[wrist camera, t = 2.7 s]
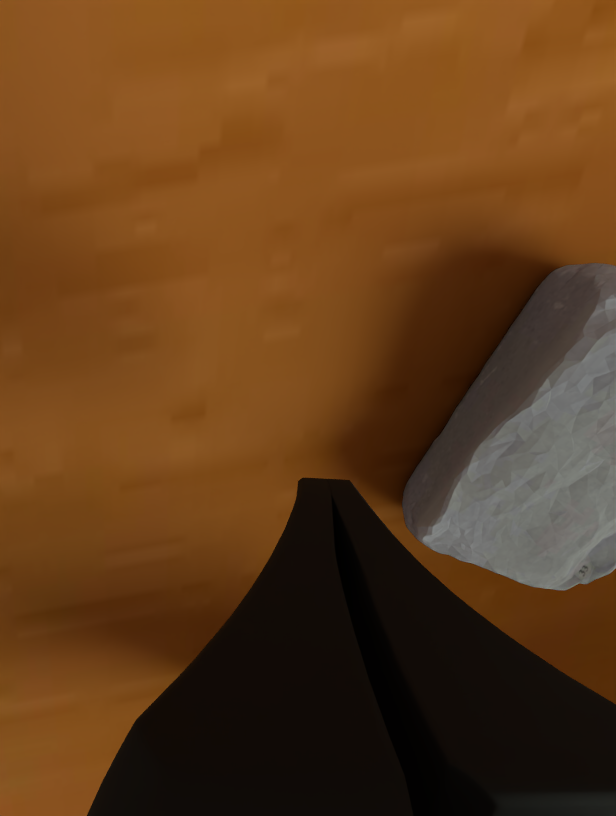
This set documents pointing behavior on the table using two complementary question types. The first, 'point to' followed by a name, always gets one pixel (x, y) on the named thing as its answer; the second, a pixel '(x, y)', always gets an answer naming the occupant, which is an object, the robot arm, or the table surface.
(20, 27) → the table surface
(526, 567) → the stone block
